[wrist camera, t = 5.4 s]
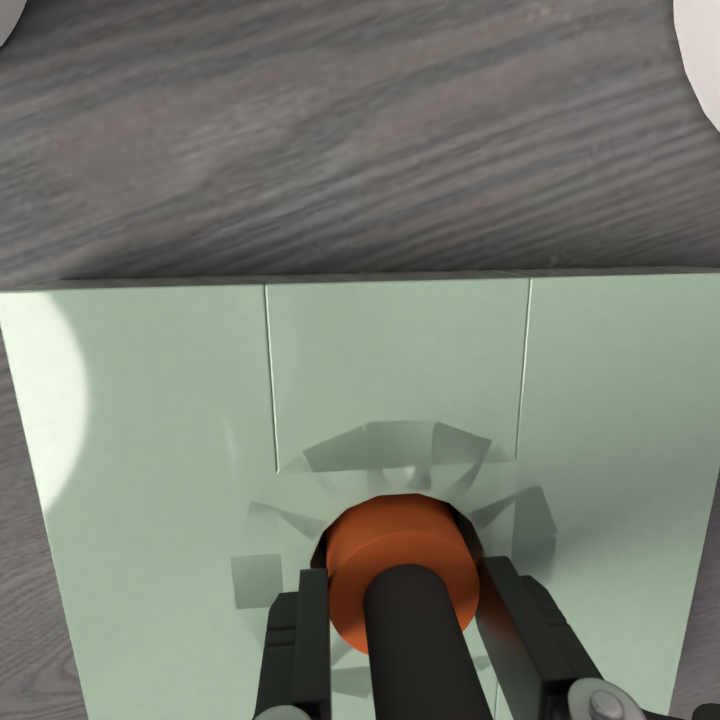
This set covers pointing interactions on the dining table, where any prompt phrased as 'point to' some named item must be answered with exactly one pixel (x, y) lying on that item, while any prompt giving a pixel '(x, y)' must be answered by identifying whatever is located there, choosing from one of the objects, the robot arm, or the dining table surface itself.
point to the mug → (9, 16)
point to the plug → (407, 605)
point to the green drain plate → (363, 458)
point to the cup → (701, 50)
